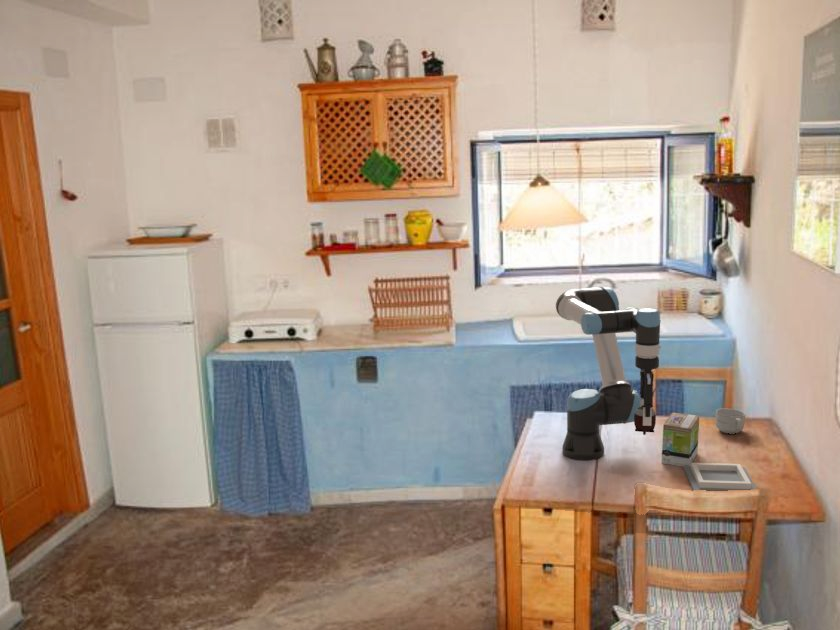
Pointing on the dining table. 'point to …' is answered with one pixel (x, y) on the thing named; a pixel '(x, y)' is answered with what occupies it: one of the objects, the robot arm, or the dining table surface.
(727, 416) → the teacup
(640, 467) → the dining table surface
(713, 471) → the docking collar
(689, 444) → the tea box
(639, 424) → the mate gourd
